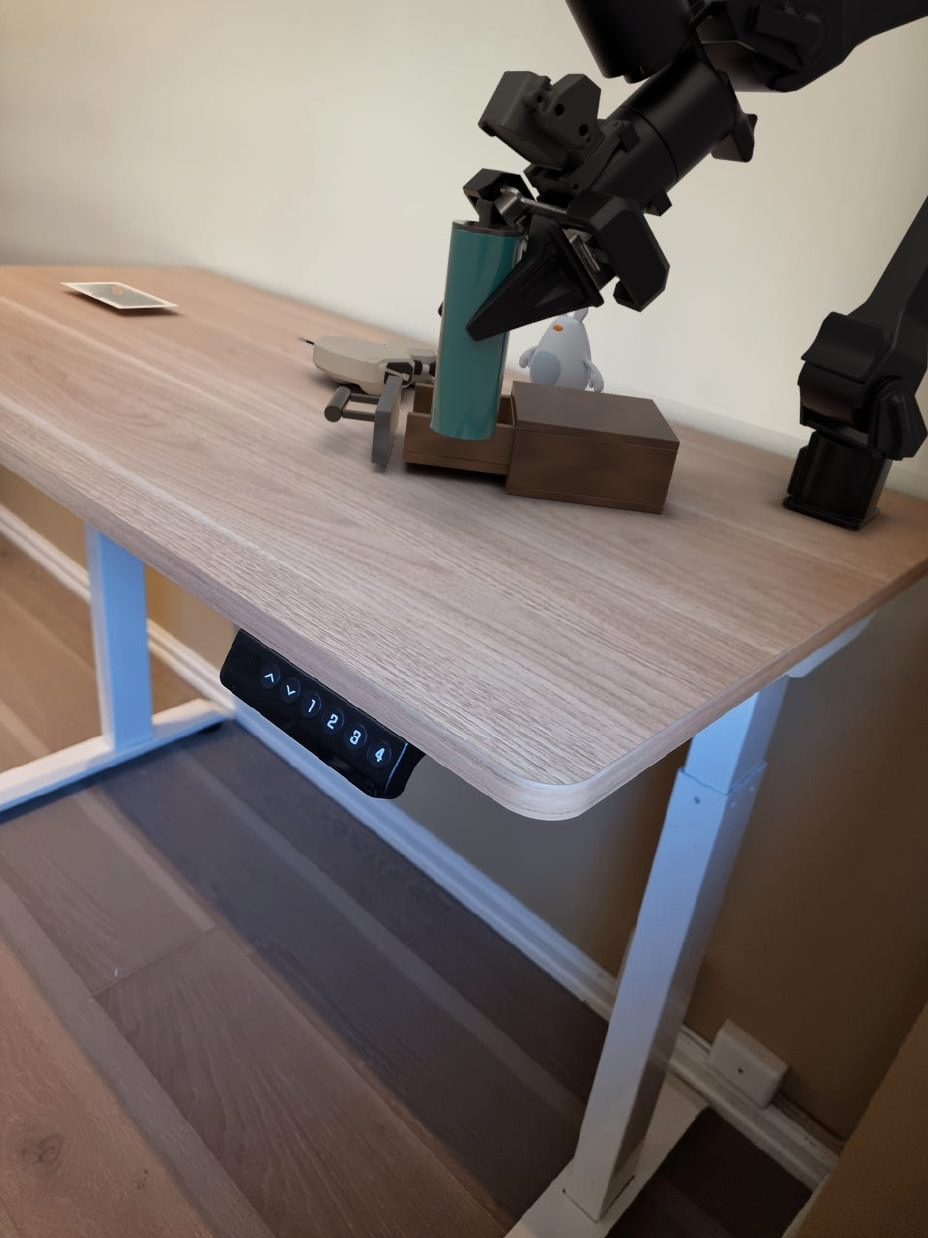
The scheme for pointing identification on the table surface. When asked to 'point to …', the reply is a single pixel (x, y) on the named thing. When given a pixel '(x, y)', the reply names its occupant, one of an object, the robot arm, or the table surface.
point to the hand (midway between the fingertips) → (455, 326)
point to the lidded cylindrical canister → (462, 363)
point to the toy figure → (563, 356)
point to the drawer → (427, 430)
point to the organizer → (590, 448)
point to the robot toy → (373, 361)
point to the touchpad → (119, 295)
